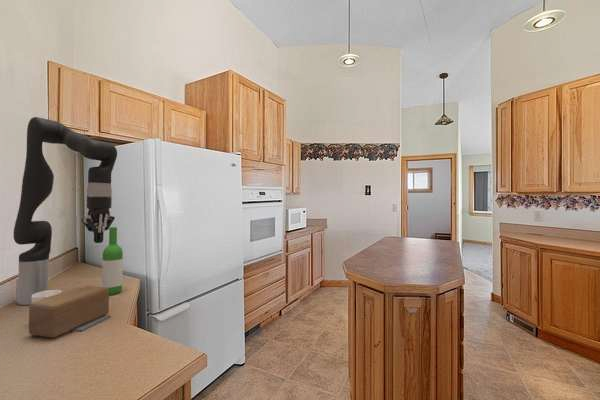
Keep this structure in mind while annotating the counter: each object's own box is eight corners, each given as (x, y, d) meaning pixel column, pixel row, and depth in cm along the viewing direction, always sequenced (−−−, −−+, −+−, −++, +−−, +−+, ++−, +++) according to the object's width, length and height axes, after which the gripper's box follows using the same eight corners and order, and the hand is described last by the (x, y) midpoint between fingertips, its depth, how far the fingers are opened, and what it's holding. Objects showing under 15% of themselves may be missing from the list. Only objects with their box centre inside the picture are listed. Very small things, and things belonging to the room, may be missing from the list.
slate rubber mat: (48, 329, 94) (48, 327, 94) (80, 314, 106) (81, 313, 106) (82, 331, 93) (82, 329, 93) (110, 316, 105) (110, 315, 105)
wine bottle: (97, 294, 129) (98, 227, 129) (114, 289, 136) (115, 226, 137) (109, 296, 126) (110, 228, 126) (126, 291, 133) (127, 227, 134)
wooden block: (109, 313, 106) (52, 339, 86) (87, 311, 108) (26, 335, 88) (110, 286, 106) (53, 305, 86) (88, 284, 108) (27, 302, 88)
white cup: (66, 319, 102) (67, 291, 102) (40, 328, 94) (41, 298, 95) (51, 316, 104) (52, 288, 105) (25, 325, 97) (25, 295, 97)
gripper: (104, 195, 113) (103, 240, 113) (74, 195, 100) (73, 245, 100) (122, 196, 112) (121, 240, 112) (93, 195, 99) (92, 245, 99)
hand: (98, 242), depth 106 cm, fingers closed
